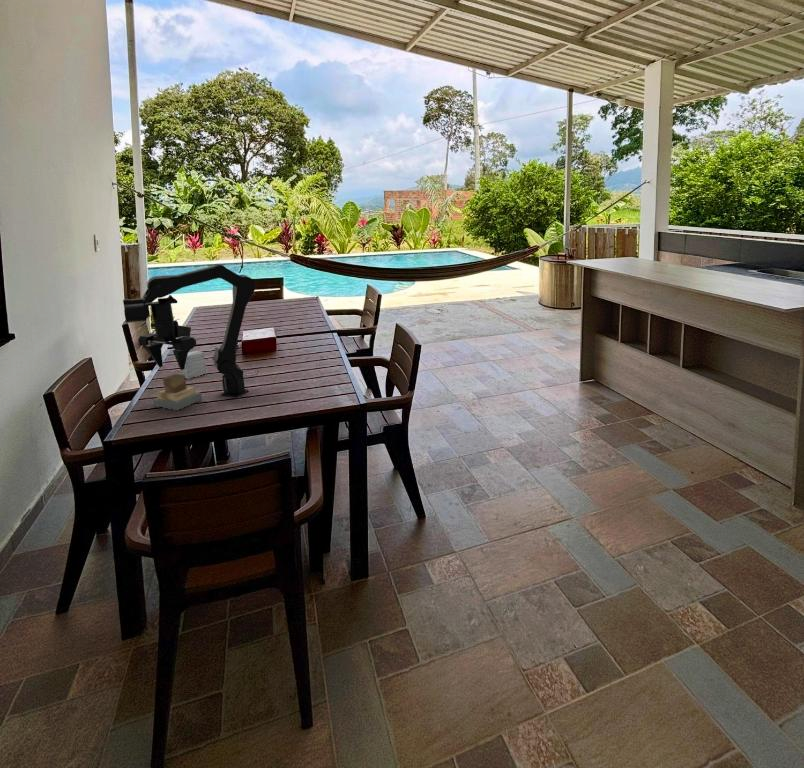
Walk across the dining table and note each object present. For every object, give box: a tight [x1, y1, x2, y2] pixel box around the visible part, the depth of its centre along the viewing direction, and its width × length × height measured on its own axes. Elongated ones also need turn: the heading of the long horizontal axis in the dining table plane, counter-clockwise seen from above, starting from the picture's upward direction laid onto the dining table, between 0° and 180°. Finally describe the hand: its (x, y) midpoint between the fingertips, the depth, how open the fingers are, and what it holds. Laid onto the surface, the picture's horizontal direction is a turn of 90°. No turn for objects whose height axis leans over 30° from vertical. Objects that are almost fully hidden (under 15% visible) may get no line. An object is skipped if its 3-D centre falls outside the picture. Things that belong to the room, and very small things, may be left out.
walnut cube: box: [162, 373, 187, 393], centre depth 174 cm, size 4×4×4 cm
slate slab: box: [152, 391, 203, 411], centre depth 176 cm, size 10×10×2 cm
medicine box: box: [179, 350, 207, 380], centre depth 202 cm, size 8×4×9 cm, turn 141°
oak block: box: [156, 385, 197, 402], centre depth 175 cm, size 8×8×2 cm
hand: (171, 368), depth 172 cm, fingers open, 9 cm apart
